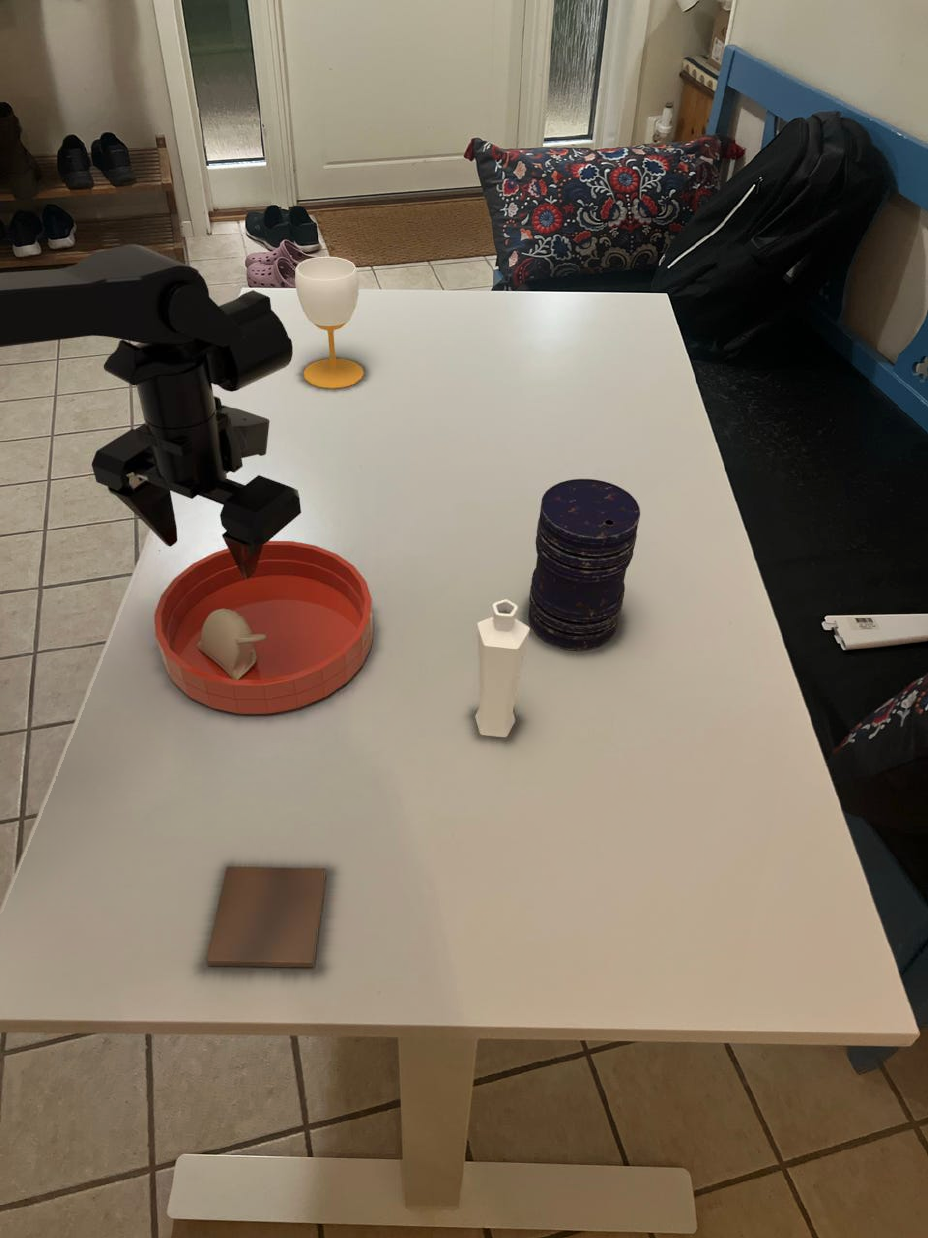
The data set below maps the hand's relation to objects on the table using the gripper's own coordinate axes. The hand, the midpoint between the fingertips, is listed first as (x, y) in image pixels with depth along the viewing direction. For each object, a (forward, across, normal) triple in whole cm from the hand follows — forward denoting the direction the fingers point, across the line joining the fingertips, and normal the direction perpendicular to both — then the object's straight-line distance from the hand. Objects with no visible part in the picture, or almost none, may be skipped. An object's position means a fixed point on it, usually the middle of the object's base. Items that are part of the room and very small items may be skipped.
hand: (210, 559), depth 83 cm
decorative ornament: (+12, -1, +1) cm, 12 cm away
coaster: (+12, -22, +22) cm, 33 cm away
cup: (+12, +24, -54) cm, 60 cm away
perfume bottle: (+12, -28, -5) cm, 31 cm away
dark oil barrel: (+12, -29, -22) cm, 38 cm away
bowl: (+12, -2, -4) cm, 13 cm away
